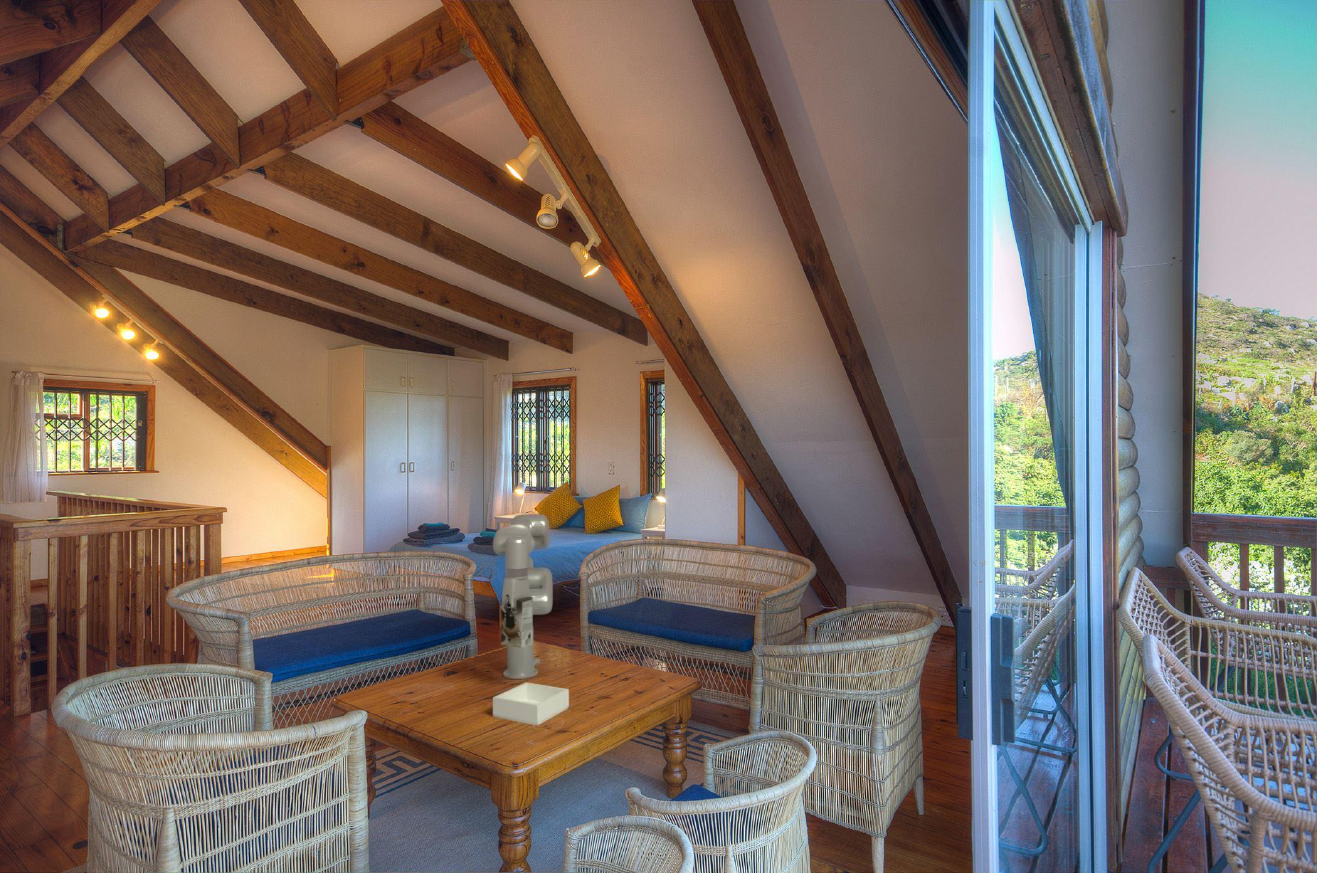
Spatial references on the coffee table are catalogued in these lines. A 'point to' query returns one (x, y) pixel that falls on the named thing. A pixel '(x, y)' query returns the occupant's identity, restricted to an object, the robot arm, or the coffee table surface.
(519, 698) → the bin
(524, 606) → the coffee box
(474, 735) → the coffee table surface
